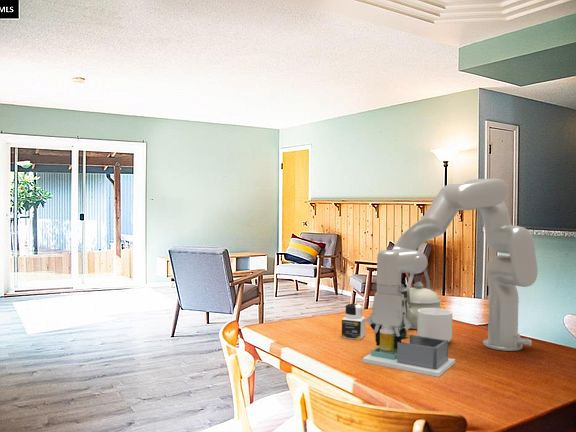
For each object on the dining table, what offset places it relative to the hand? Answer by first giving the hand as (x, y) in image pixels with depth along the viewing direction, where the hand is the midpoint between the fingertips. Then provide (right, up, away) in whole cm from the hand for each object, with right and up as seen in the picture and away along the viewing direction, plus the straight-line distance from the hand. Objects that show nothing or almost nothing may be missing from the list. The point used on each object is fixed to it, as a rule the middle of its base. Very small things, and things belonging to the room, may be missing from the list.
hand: (388, 345), depth 168 cm
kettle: (+20, -3, +44) cm, 49 cm away
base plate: (+6, -4, -4) cm, 8 cm away
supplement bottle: (0, -2, 0) cm, 2 cm away
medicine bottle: (-8, -3, +27) cm, 28 cm away
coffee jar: (+8, -4, +28) cm, 30 cm away
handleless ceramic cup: (+20, -4, +20) cm, 29 cm away
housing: (+9, -3, -6) cm, 12 cm away
